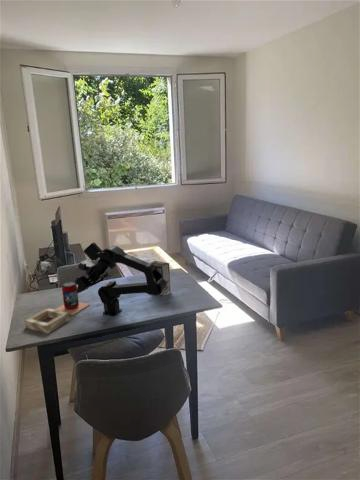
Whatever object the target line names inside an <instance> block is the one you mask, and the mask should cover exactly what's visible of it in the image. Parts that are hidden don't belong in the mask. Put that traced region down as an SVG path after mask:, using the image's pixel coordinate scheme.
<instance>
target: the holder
mask: <svg viewBox="0 0 360 480" xmlns="http://www.w3.org/2000/svg"><path fill="white" fill-rule="evenodd" d="M48 318H49V319H51V320H50V321H48V322H45V320H46V319H48ZM70 319H71V318H70V315H69V313H68V312H63V311H59V310H54V309H53V308H50V307H47V308H44V309H43V310H41V311H38V313H36V314H35V313H34V314H33V315H32V316H29V317H28V318H26V319H24V325H25V328H26V329H29V330H33V331H36V332H41V333H44V334H47V335H48V334H50V333H51V332H53V331H54V330H56V329H58V328H59V327H61V326H62V325H64V324H65V323H67V322H69V321H70Z"/></svg>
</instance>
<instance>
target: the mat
mask: <svg viewBox="0 0 360 480" xmlns="http://www.w3.org/2000/svg"><path fill="white" fill-rule="evenodd" d="M89 306H91V305H90V303H86V302H82V301H79V306H78V307H76V308H75V309H66V308H65V307H64V303H63V304H61V305H60V306H58V307H57V308H55V309H54V310H59V311H63V312H68V313H69V316H71V317H73V316H75V315H77V314H78V313H80V312H82V311H83V310H84V309H87V308H88V307H89Z"/></svg>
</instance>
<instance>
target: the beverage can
mask: <svg viewBox="0 0 360 480" xmlns="http://www.w3.org/2000/svg"><path fill="white" fill-rule="evenodd" d="M77 288H78V285H77V283H76V282H75V281H67V282H64V283H63V284H62V287H61V290H62V291H61V292H62V299H63V304H64V307H65V308H66V309H75V308H76V307H78V306H79V302H80V301H79V293H77V292H76V291H77Z"/></svg>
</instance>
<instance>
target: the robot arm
mask: <svg viewBox="0 0 360 480" xmlns="http://www.w3.org/2000/svg"><path fill="white" fill-rule="evenodd" d="M83 253H84V255H86V256H87V258H88V259H89V260H88V259H85V260H82V261H80V262H79V264H78V269H79V270H81V271H84V272H85V274H86V275H87V277H86V276H85V275H80V276H77V277H76V278H75V280H74V283H75V284H76V285H77V291H76V292H77V293H78V294H80V293H82V292H84V291H86V290H88V289H89V288H91V287H93V286H95V285H97V284H99V283H101V282H103V281H104V280H106V279H108V278H109V272H108V270H109V269H110V270H113V269H114V268H116V267H117V266H116V264H122V265H125V266H127V267H130V268H132V269H134V270H136V271H138V272H141V273H143V274H144V276H145V279H146V281H145V282H135V283H134V282H133V283H125V284H123V283H122V284H118V283H117V281H116V280H113V281H111V280H109V281H107V282H105V283H104V284H103V285H101V286H100V287H99V288H98V290H97V294H98V296H99V298H100V301H101V304H103V312H102V314H103V315H106V316H112V317H114V316H116V315H118V314H119V313H120V312H122V310H123V309H122V308H120V300H119V298H120V297H121V296H122V295H132V294H133V295H134V294H143V293H144V294H147V295H149V296H161V295H160V294H161V293H162V292H163V291H164V289H165V288H166V287H167V283H166V281H165V280H164V278H163V277H162V275H161V273H160V272H159V271H158V270H157V269H156V267H155V266H154V264H151V263H152V262H147V261H144V260H143V259H140V258H137V257H135V256H133V255H130V254H128V253H126V252H125V251H124V249H122V248H120V247H119V246H117V245H111V246H110V247H108V248H104V249H101V247H99V245H98V244H97V243H96V242H95V241H93V242H91V243H90V244H89V245H88V246H87V247H86V248H84V250H83ZM90 260H91V261H90ZM94 261H95V262H96V263H93V262H94ZM153 276H154V277H155V279H154V277H153Z"/></svg>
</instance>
